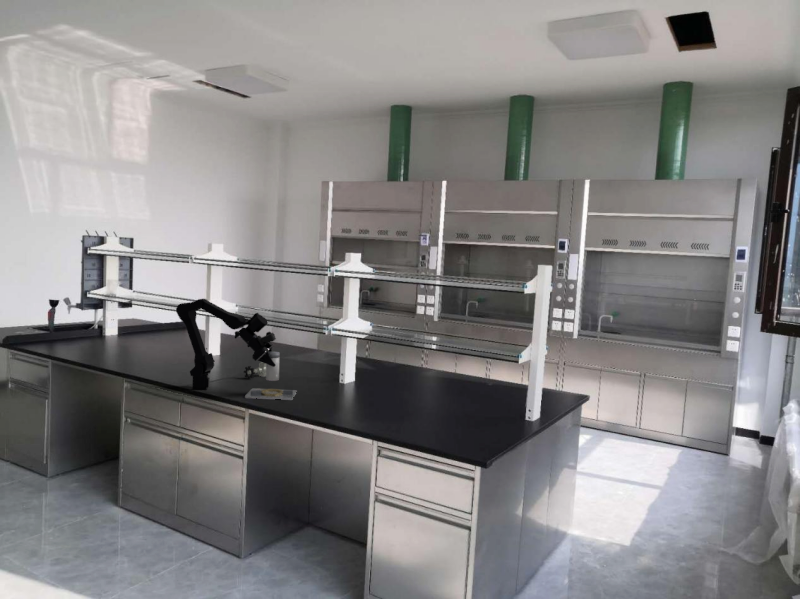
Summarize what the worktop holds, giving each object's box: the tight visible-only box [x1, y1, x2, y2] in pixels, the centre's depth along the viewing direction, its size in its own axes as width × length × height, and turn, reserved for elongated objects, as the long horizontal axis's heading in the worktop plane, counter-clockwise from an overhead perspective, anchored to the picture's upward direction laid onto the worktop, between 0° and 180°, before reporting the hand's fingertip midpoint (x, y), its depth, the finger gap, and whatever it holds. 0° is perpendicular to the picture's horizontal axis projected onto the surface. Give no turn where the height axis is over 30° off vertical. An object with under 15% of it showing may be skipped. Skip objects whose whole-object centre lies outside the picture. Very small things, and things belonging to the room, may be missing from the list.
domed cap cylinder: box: [265, 350, 281, 382], centre depth 275 cm, size 6×6×12 cm
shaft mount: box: [244, 387, 298, 401], centre depth 274 cm, size 20×14×2 cm
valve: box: [243, 362, 266, 380], centre depth 308 cm, size 7×7×12 cm
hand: (275, 364), depth 275 cm, fingers closed on domed cap cylinder, 6 cm apart
